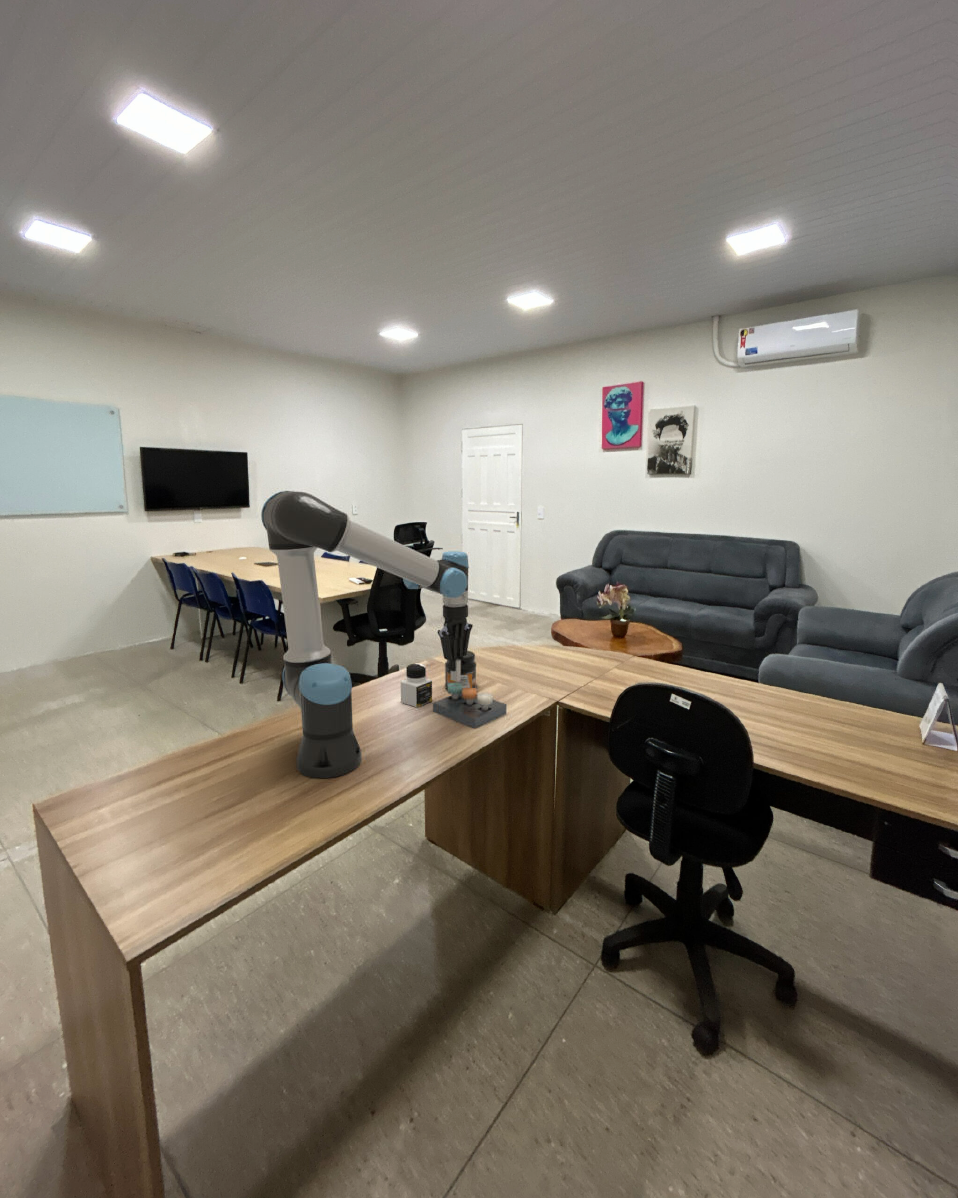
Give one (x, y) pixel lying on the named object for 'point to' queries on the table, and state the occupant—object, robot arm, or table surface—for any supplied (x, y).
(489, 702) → the ivory button
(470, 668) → the supplement container
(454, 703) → the console
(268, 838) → the table surface
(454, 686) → the teal button
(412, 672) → the medicine bottle
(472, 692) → the orange button
